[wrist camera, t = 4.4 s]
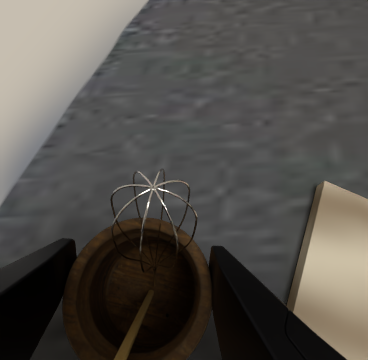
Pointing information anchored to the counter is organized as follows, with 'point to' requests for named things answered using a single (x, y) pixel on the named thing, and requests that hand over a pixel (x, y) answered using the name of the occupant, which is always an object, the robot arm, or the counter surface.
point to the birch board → (335, 271)
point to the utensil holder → (138, 289)
